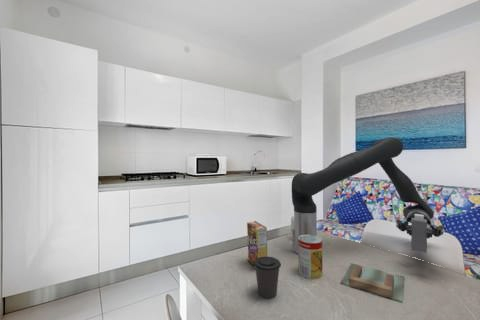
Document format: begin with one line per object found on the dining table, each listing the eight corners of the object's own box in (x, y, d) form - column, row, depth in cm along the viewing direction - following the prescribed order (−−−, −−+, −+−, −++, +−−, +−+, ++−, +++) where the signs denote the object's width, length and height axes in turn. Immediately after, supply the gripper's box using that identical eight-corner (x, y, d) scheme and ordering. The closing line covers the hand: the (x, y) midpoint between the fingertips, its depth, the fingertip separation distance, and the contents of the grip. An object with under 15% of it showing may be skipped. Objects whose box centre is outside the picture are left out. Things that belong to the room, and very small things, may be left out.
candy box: (247, 261, 88) (246, 222, 88) (256, 259, 90) (256, 220, 90) (257, 271, 80) (257, 228, 80) (268, 269, 82) (267, 226, 81)
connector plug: (411, 249, 76) (411, 215, 76) (411, 246, 79) (411, 213, 79) (426, 253, 73) (427, 217, 73) (426, 248, 77) (426, 214, 76)
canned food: (326, 272, 79) (325, 238, 79) (316, 281, 73) (316, 244, 73) (305, 265, 84) (304, 233, 84) (294, 273, 79) (294, 238, 78)
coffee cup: (274, 305, 62) (274, 268, 62) (248, 296, 66) (248, 261, 66) (285, 290, 69) (285, 257, 68) (261, 282, 73) (260, 251, 73)
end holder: (340, 283, 72) (340, 275, 72) (351, 264, 85) (351, 257, 85) (402, 302, 62) (402, 293, 62) (404, 277, 75) (404, 270, 75)
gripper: (396, 209, 92) (393, 218, 78) (443, 214, 83) (448, 226, 70) (395, 227, 92) (392, 240, 78) (442, 235, 83) (448, 250, 70)
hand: (419, 233), depth 74 cm, fingers closed on connector plug, 4 cm apart
